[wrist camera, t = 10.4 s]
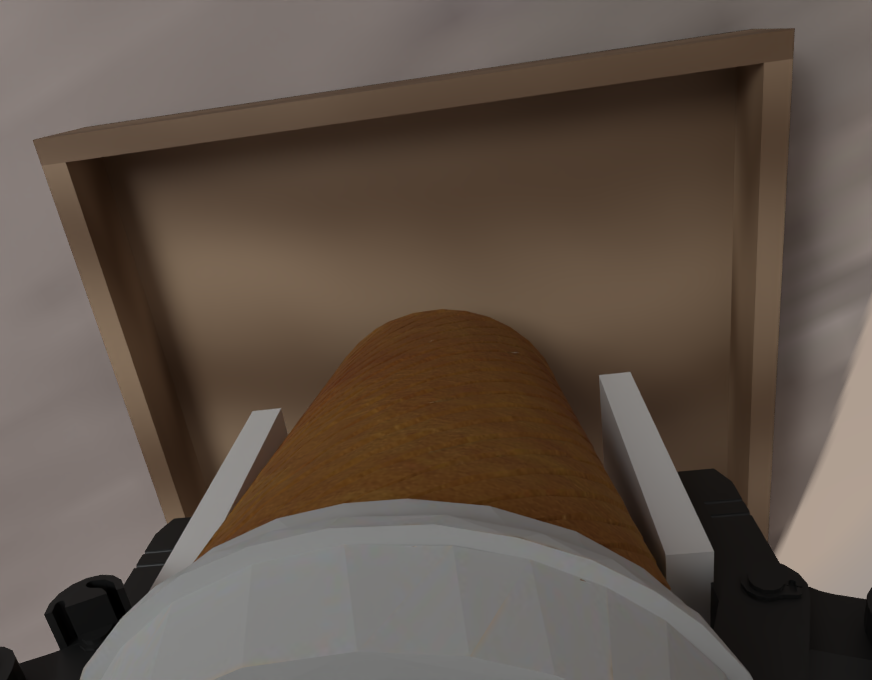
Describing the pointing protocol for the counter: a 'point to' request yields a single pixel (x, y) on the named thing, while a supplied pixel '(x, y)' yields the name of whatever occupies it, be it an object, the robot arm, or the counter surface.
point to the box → (450, 242)
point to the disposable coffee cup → (424, 539)
